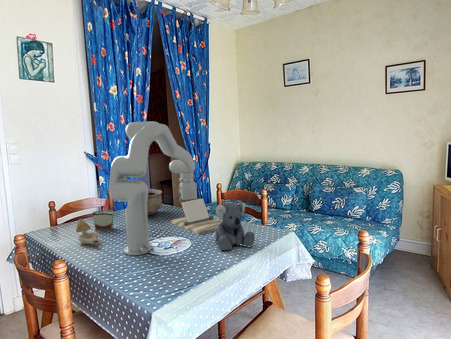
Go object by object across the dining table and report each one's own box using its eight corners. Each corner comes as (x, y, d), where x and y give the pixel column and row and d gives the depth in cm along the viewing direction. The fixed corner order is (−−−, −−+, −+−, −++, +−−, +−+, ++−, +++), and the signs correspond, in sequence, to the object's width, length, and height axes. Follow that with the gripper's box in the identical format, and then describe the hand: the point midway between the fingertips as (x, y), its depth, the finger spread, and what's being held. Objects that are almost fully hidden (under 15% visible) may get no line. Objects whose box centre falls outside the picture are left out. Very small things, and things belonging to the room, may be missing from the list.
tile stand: (229, 226, 172) (229, 218, 171) (199, 234, 160) (198, 226, 159) (198, 216, 195) (198, 209, 195) (170, 222, 183) (170, 215, 182)
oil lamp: (90, 235, 163) (88, 217, 162) (106, 246, 147) (105, 225, 146) (72, 240, 157) (70, 220, 156) (87, 251, 141) (85, 229, 140)
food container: (119, 226, 177) (118, 209, 176) (114, 230, 171) (113, 212, 170) (98, 226, 178) (97, 209, 177) (92, 230, 172) (91, 212, 171)
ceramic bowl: (153, 208, 217) (152, 187, 216) (169, 214, 201) (168, 191, 199) (122, 214, 203) (121, 192, 202) (136, 221, 187) (135, 196, 185)
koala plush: (221, 253, 134) (219, 209, 132) (207, 240, 151) (206, 200, 148) (257, 247, 141) (256, 204, 138) (240, 235, 157) (239, 197, 155)
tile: (208, 219, 182) (209, 218, 181) (188, 224, 173) (189, 223, 172) (201, 199, 185) (202, 198, 184) (181, 203, 177) (182, 202, 176)
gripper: (179, 182, 175) (180, 214, 177) (201, 179, 185) (202, 209, 187) (172, 180, 181) (174, 211, 183) (194, 178, 190) (195, 207, 193)
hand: (188, 210), depth 185 cm, fingers closed
